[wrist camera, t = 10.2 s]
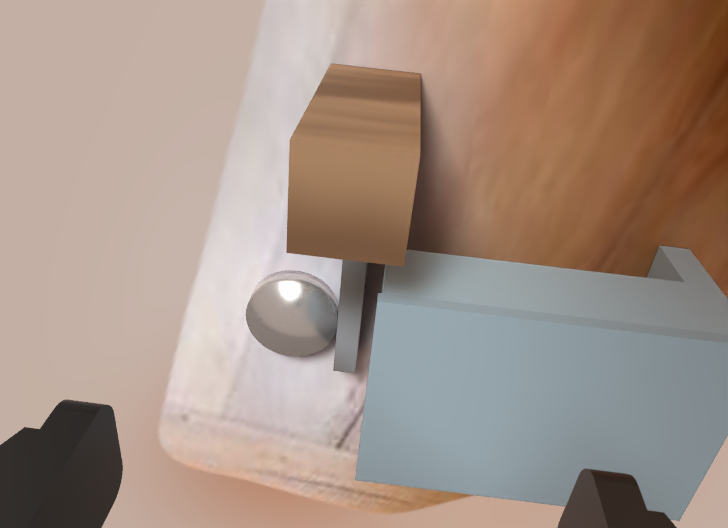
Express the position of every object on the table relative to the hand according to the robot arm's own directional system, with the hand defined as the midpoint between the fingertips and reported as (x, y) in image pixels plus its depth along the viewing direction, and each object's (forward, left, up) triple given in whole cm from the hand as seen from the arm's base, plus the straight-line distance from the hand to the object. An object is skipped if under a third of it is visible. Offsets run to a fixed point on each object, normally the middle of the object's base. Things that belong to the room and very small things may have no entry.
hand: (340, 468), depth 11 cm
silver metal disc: (+12, -4, -21) cm, 24 cm away
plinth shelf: (+10, +8, -21) cm, 24 cm away
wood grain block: (+6, -1, -20) cm, 21 cm away
